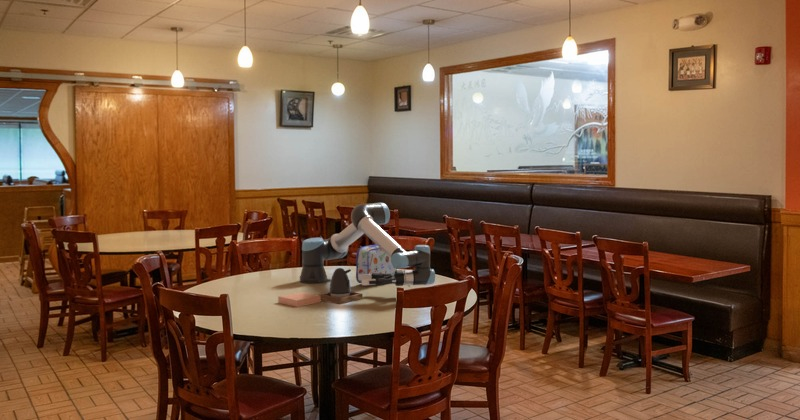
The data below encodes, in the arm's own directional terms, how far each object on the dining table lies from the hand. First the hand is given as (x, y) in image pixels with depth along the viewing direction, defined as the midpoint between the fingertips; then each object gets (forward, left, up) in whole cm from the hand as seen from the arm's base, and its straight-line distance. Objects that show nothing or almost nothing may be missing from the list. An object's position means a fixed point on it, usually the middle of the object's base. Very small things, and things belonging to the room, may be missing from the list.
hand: (359, 279), depth 326 cm
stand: (+25, -16, -9) cm, 31 cm away
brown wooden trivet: (+8, -6, -9) cm, 13 cm away
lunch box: (-34, -22, -9) cm, 42 cm away
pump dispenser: (+8, -6, -9) cm, 13 cm away
